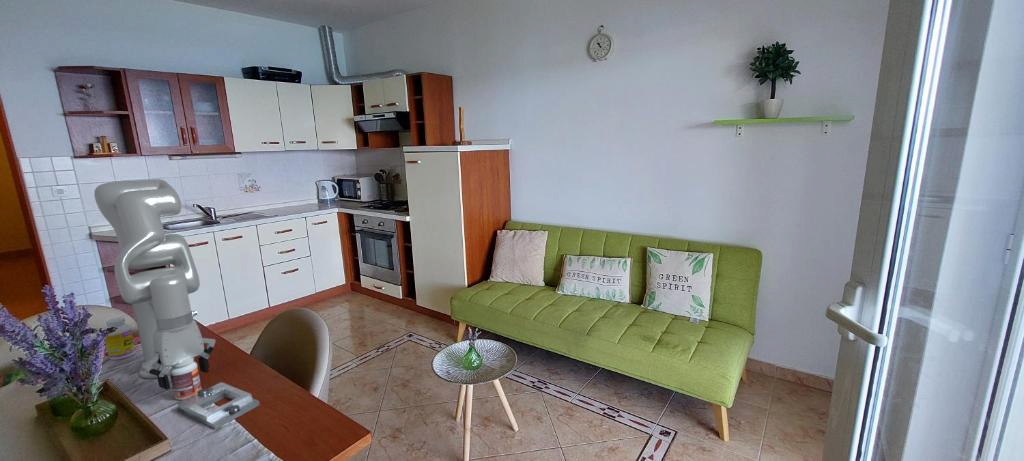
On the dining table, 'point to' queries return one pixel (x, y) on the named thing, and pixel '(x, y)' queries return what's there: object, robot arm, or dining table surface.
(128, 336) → the supplement bottle
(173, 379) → the pill bottle
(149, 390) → the dining table surface
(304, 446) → the dining table surface
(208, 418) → the slotted white bracket
